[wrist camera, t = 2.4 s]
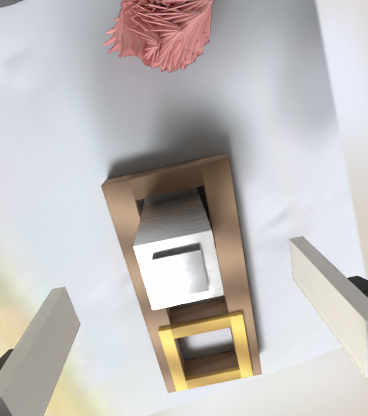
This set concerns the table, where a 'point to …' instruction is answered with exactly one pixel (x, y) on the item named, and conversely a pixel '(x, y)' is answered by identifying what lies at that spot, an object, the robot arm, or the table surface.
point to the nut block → (177, 250)
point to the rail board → (228, 266)
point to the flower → (162, 31)
